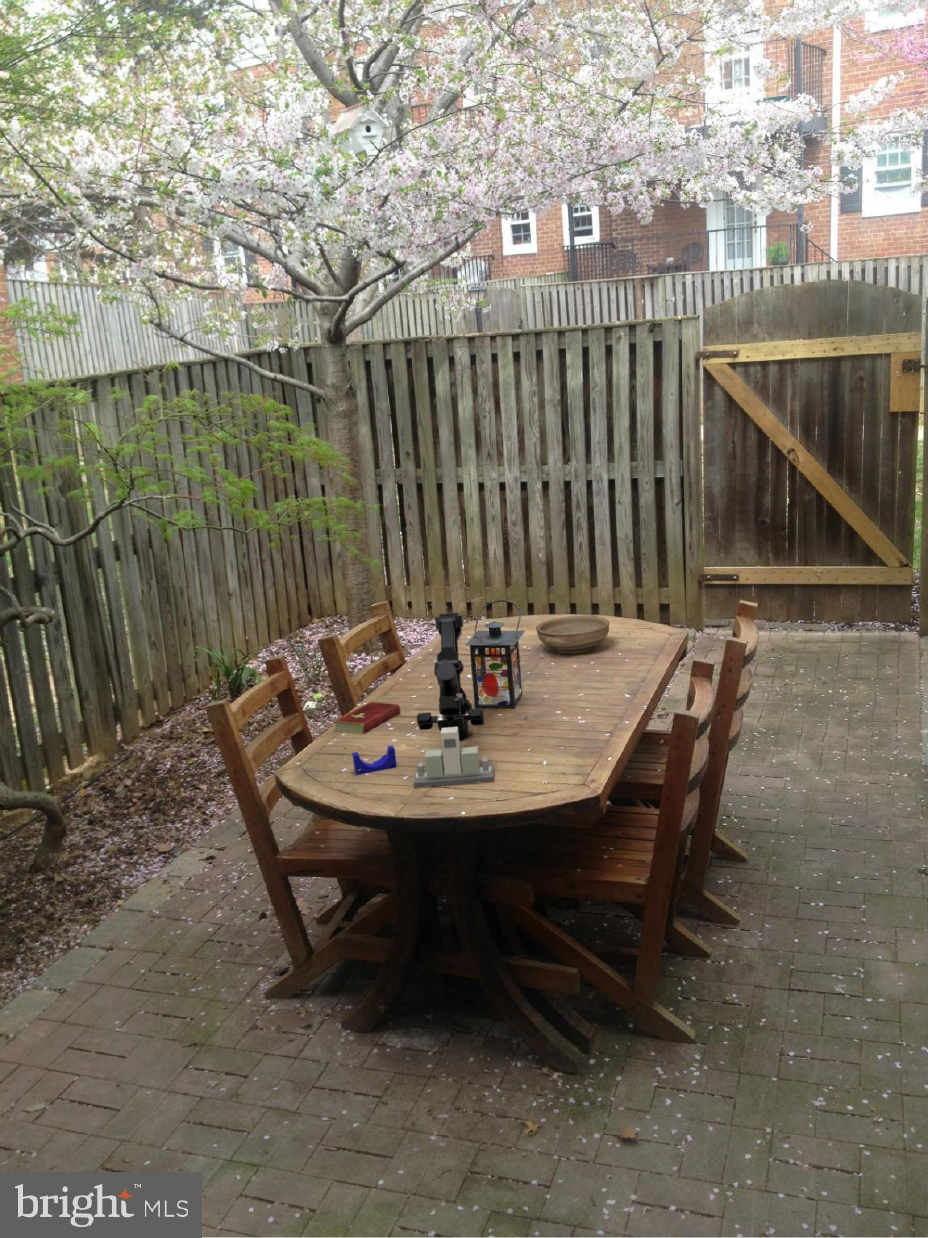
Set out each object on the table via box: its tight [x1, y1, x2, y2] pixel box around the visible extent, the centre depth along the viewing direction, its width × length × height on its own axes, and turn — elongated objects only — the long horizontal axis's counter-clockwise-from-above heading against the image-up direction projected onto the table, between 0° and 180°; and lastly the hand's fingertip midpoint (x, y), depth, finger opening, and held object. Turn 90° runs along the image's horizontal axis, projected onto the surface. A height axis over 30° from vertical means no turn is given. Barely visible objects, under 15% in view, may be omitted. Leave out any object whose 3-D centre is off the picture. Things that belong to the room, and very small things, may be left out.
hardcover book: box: [333, 701, 401, 735], centre depth 354 cm, size 12×21×4 cm, turn 149°
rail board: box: [413, 745, 495, 789], centre depth 297 cm, size 9×22×8 cm, turn 88°
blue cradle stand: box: [351, 745, 398, 776], centre depth 311 cm, size 12×4×6 cm, turn 106°
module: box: [440, 727, 462, 775], centre depth 296 cm, size 5×4×12 cm
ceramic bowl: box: [535, 614, 610, 654], centre depth 418 cm, size 37×29×10 cm
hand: (451, 746), depth 298 cm, fingers closed, pressing on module
